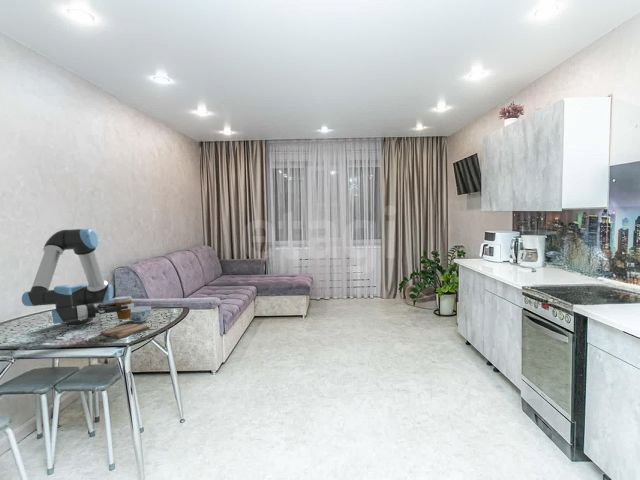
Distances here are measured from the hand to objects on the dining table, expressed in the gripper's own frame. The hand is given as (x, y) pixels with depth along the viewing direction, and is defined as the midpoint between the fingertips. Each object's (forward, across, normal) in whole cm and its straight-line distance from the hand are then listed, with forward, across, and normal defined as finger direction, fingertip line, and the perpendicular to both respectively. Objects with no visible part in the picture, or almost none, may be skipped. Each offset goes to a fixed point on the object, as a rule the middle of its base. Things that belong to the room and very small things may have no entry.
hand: (132, 304), depth 222 cm
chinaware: (+6, -20, -15) cm, 25 cm away
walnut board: (-5, 0, -15) cm, 16 cm away
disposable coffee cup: (-5, 0, -7) cm, 9 cm away
